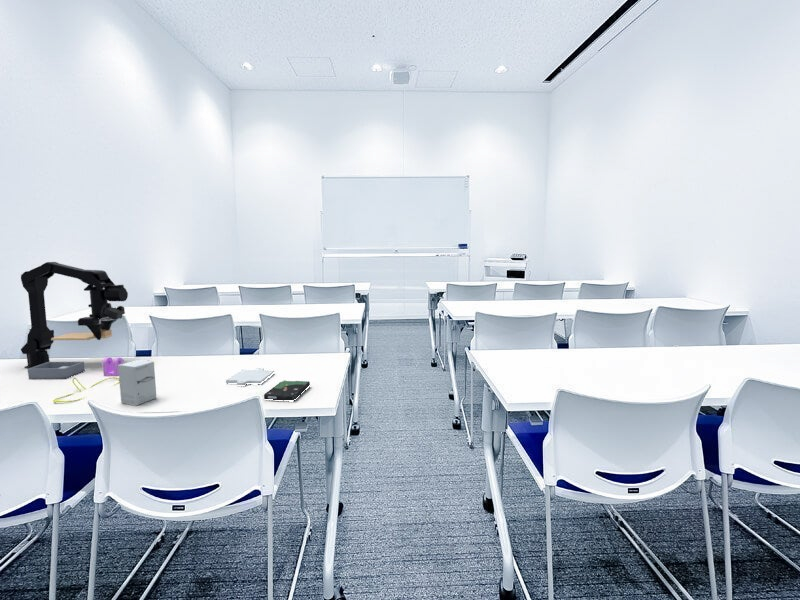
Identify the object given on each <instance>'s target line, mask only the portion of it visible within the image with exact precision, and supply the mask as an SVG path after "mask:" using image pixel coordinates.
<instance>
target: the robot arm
mask: <svg viewBox="0 0 800 600" xmlns="http://www.w3.org/2000/svg"><path fill="white" fill-rule="evenodd" d="M55 274H57V275H61V276H65V277H69V278H74V279H77V280H80V281H81V282H83V283H84V284H87V286H86V287H84V289H83V291H85V292H86V291H87V292H88V291H89V297H90V303H89V304H88V308H90V309H91V310H90V311H91V314H89V316H83V317H80V318H78V320H77V326H78V327H79V326H82V327H83V326H85V327H87V328H88V329H89V330H90V331H91V332H90V333H93V334H94V336H95V337H96V338H95V339H96V340H97V341H101V339H102V338H101V330H111V328H112V324H114V323H115V322H116V321H117V320H118V319H122V318H123V315H124V314H126V312H125V306H123V305H119V306H117V307H115V306H112V303H111V302H126V301H127V299H128V297H129V293H128V291H127V289H126V288H125V287H124V284H115V283H114V282H113V280H111V278H110V277H109V275H108V273H107V272H106V271H105V270H102V269H101V270H99V269H84V268H79V267H77V266H76V267H75V266H71V265H67V264H63V263H59V262H58V261H47V262H45V263H43V264H41V265H38V267H37V266H36V267H35V268H32V269H31V270H28V271H27V270H25V271H24V272H23V273H21V274H20V281H21V284H22V288H24V290H25V291H26V292H27V295H28V304H29V314H30V315H29V317H30V325H31V326H30V329H29V331H28V334H27V336H26V337H27V339H26V343H25V344H24V345H23V346H22V348H20V351H21V353H22V355H26V361H27V362H26V363H27V365H26V366H24V369H29V368H32V367H35V366H38V365H41V364H44V363H47V362H50V356H49V352H48V350H51V348H52V344H53V343H54V341H55V340H51V338H54V337H55V330H54V329H50V328H49V327H48V324H47V313H46V302H45V301H46V299H45V291H46V289H47V287H48V283H49V279H50V278H51V277H53V276H54V275H55Z"/></svg>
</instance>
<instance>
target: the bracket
mask: <svg viewBox="0 0 800 600" xmlns="http://www.w3.org/2000/svg"><path fill="white" fill-rule="evenodd" d="M121 364H124V359H123V358H122V357H115V358H114V359H113V357H104V358H103V360H102V371H103V377H119V370H118V365H121Z"/></svg>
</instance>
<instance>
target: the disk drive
mask: <svg viewBox="0 0 800 600" xmlns="http://www.w3.org/2000/svg"><path fill="white" fill-rule="evenodd" d="M310 382H311V381H307V380H301V381H300V380H294V381H293V380H284V379H283V380H282V381H280V382H279V383H277V384H276V385H275V386H273V387H272V388H271V389H269V390H267V391H266V392H265V393H264V394H263V400H264V399H273V400H294V399H296V398H297V397H298V396H299V395H300V394H301V393H302V392H303V391H304V390H305V389H306V388H307V387H308V386H309V385H310V386H311V384H310Z"/></svg>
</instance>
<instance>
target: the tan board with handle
mask: <svg viewBox="0 0 800 600" xmlns="http://www.w3.org/2000/svg"><path fill="white" fill-rule="evenodd" d="M110 337H113V333H112V329H110V330H101V339H107V338H110ZM93 339H97V338H96V337H95V336H94V334H93V333H92V332H69V333H65V334H62V335H57V336H54V338H51V340H54V341H90V340H93Z"/></svg>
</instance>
